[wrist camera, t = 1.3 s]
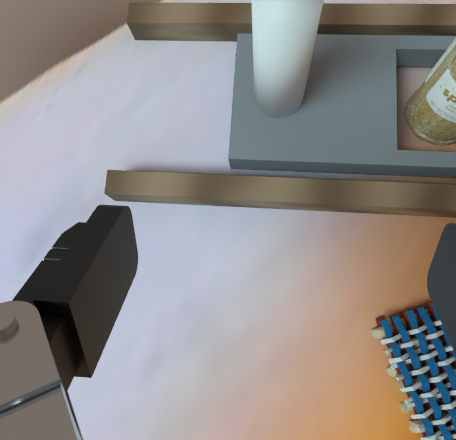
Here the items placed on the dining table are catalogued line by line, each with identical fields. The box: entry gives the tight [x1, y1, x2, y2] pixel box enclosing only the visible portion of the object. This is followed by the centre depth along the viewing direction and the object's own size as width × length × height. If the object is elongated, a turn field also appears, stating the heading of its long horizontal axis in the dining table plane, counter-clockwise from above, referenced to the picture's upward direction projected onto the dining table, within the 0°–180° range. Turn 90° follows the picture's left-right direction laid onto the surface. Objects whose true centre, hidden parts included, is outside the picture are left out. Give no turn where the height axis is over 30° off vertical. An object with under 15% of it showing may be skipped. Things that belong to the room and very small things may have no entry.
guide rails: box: [105, 3, 456, 217], centre depth 28 cm, size 30×14×2 cm, turn 86°
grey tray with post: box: [229, 0, 456, 178], centre depth 23 cm, size 22×9×11 cm, turn 86°
